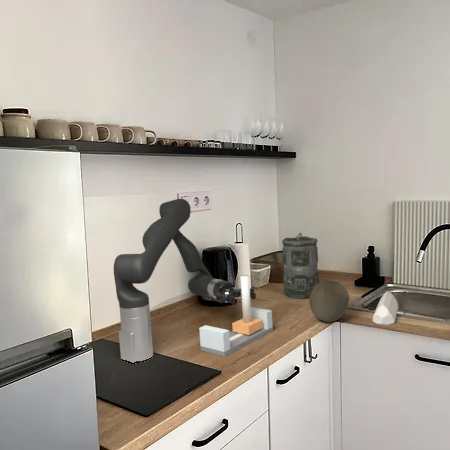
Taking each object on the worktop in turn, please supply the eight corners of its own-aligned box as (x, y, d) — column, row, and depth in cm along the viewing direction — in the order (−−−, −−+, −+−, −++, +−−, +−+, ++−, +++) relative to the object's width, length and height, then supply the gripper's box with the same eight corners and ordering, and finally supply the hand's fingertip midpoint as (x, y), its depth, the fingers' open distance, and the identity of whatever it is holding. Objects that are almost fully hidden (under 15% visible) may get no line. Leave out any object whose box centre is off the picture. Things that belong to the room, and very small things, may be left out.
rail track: (224, 356, 143) (223, 333, 143) (200, 350, 150) (199, 327, 149) (272, 331, 164) (271, 310, 163) (250, 326, 170) (249, 306, 170)
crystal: (374, 296, 187) (366, 314, 165) (390, 288, 184) (384, 305, 162) (384, 312, 186) (377, 332, 165) (400, 305, 183) (395, 323, 162)
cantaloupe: (342, 329, 162) (340, 287, 160) (304, 324, 170) (302, 284, 168) (354, 317, 174) (353, 278, 172) (318, 313, 181) (317, 275, 180)
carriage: (249, 335, 156) (246, 279, 154) (232, 331, 160) (229, 277, 158) (262, 328, 162) (259, 274, 160) (246, 325, 166) (243, 273, 164)
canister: (317, 299, 201) (314, 235, 198) (281, 298, 206) (278, 236, 203) (321, 290, 216) (319, 231, 213) (287, 289, 221) (285, 231, 218)
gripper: (203, 283, 170) (226, 291, 157) (236, 277, 178) (260, 284, 164) (205, 303, 171) (227, 313, 157) (237, 296, 178) (262, 305, 164)
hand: (244, 298), depth 161 cm, fingers open, 8 cm apart
